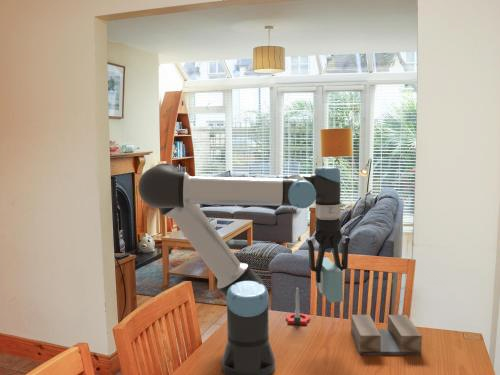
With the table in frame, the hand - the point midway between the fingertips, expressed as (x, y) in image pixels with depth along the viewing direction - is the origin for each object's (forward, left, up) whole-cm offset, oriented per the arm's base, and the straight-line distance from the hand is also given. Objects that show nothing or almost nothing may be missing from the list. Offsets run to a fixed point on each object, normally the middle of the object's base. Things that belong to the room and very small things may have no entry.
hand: (328, 291), depth 148 cm
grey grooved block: (+18, +1, -17) cm, 24 cm away
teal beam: (0, 0, 0) cm, 0 cm away
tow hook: (-8, +19, -17) cm, 27 cm away
